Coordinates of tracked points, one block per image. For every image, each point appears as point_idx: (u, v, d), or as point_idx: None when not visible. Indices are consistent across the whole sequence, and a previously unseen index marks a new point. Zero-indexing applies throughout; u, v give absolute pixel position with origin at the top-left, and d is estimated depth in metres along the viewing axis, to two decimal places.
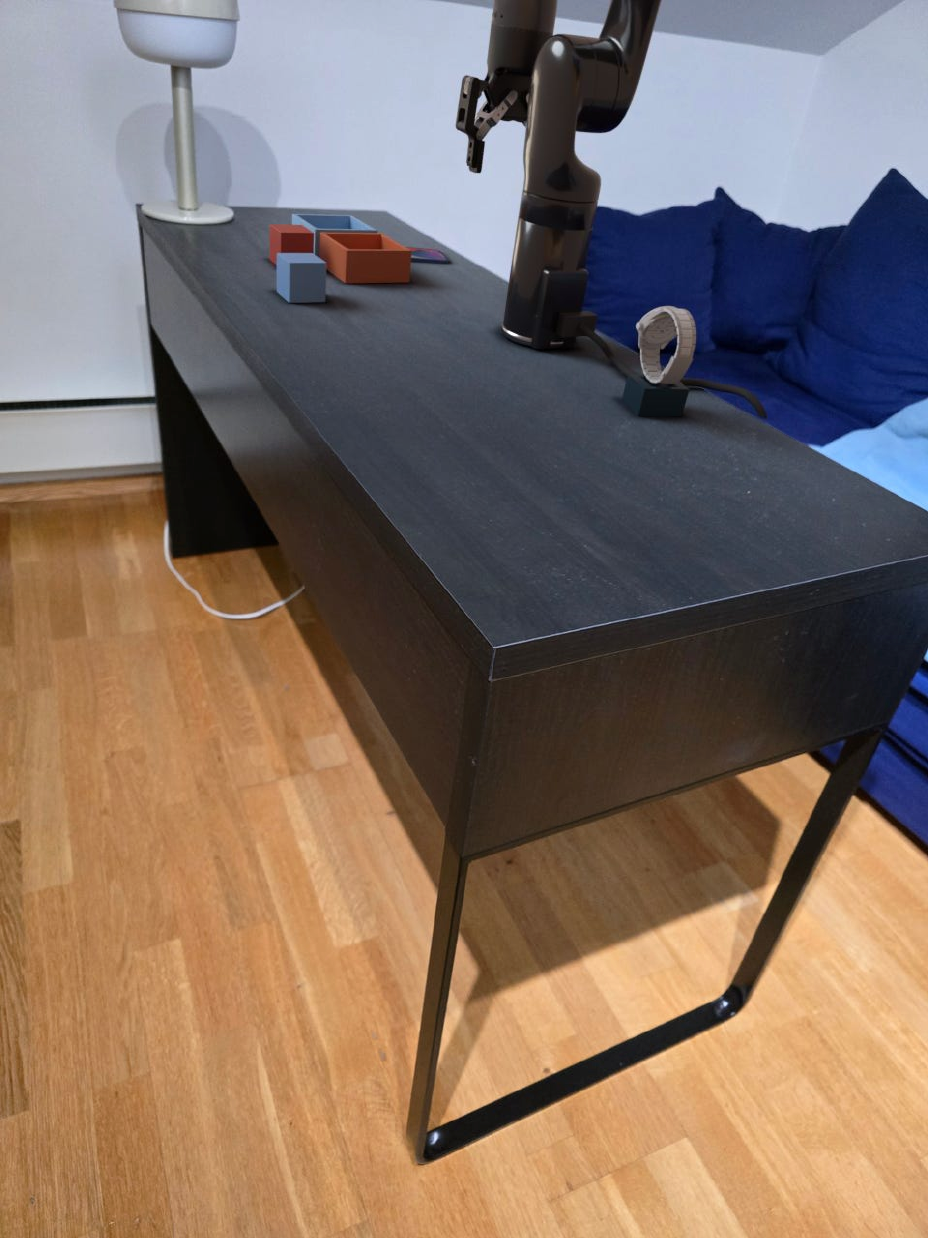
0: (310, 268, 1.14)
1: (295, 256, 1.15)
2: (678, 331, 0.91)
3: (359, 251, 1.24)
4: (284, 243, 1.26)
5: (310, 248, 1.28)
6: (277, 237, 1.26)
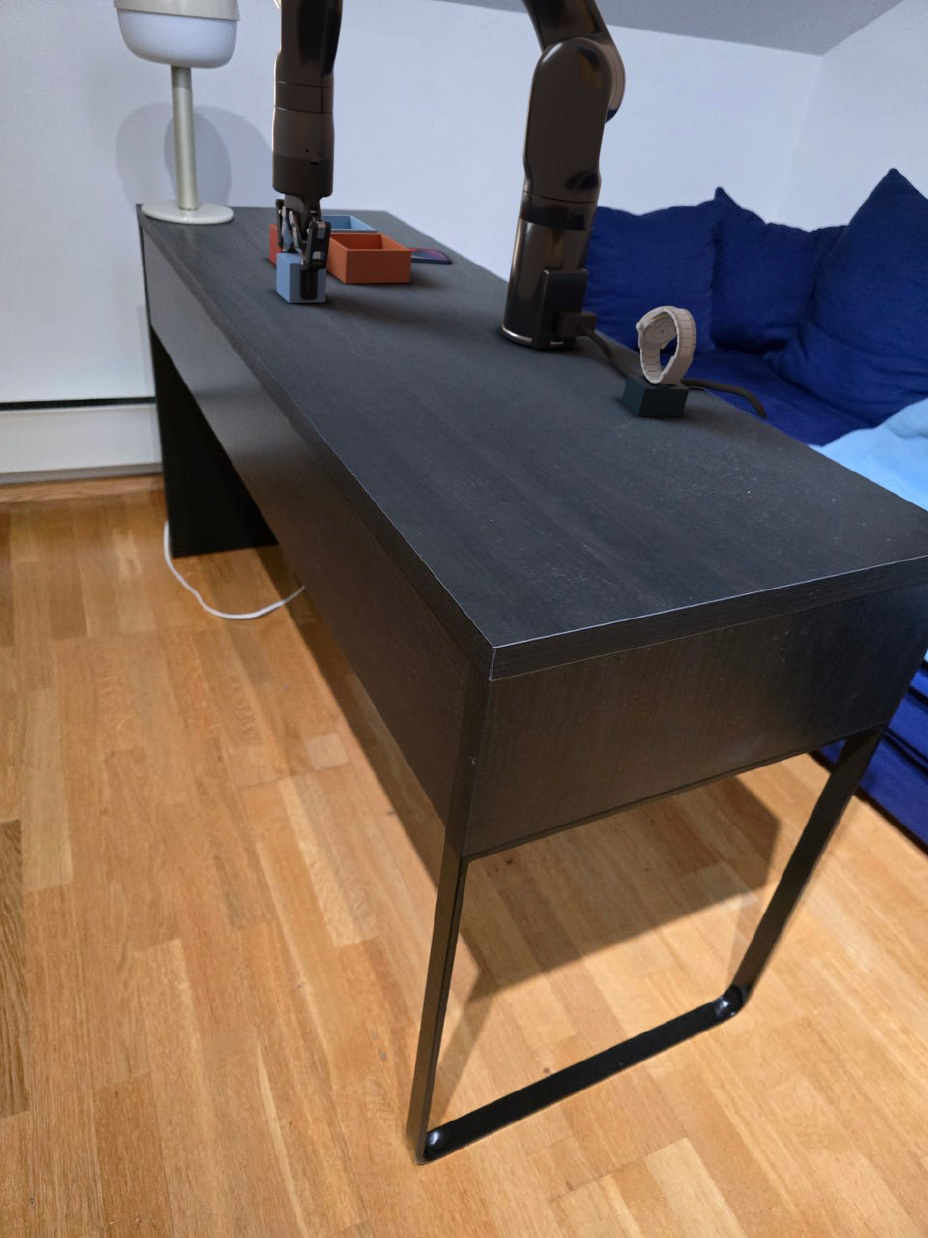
0: None
1: (295, 256, 1.15)
2: (678, 331, 0.91)
3: (359, 251, 1.24)
4: None
5: None
6: (277, 237, 1.26)
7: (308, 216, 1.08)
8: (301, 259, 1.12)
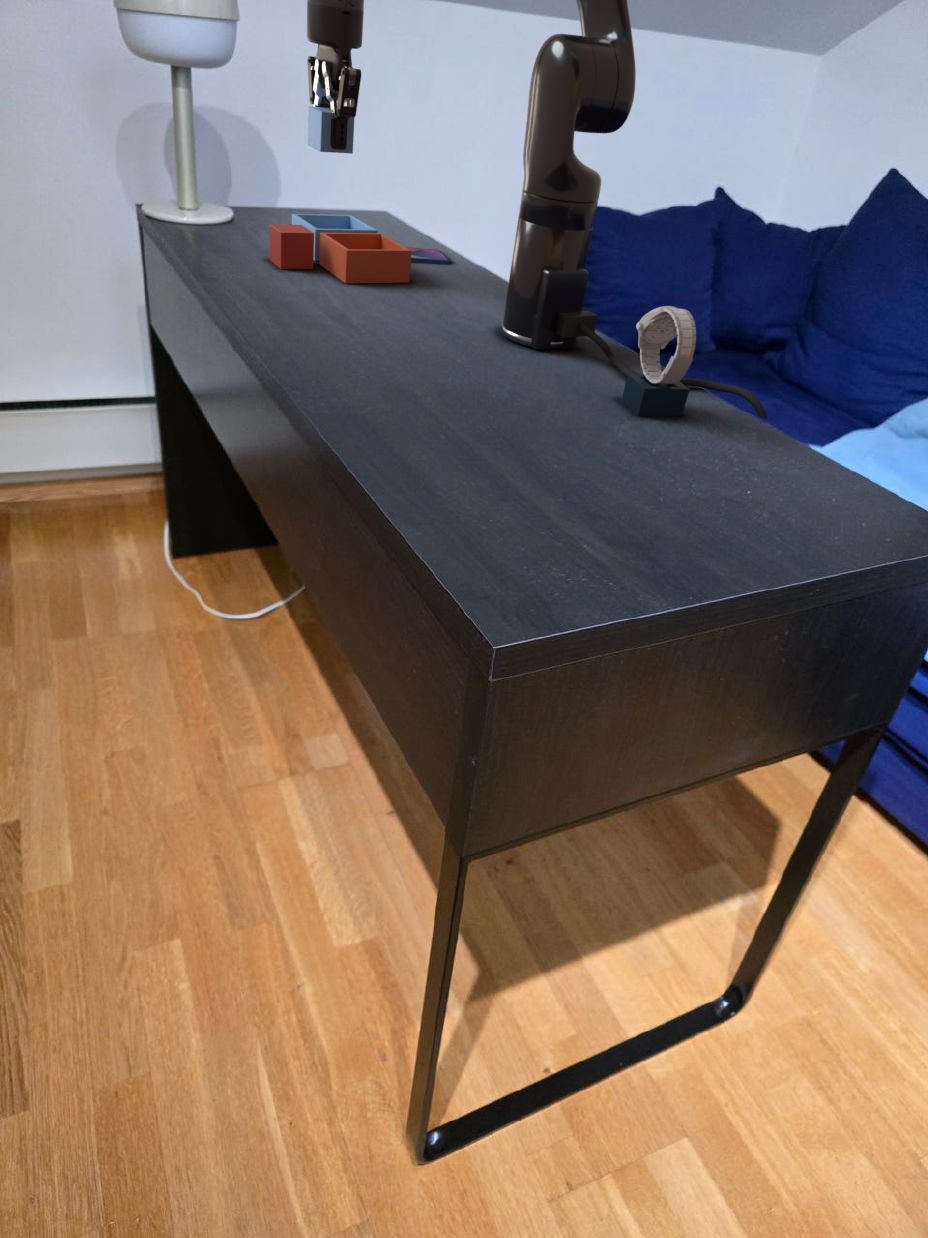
0: None
1: (325, 109, 1.25)
2: (678, 331, 0.91)
3: (359, 251, 1.24)
4: (284, 243, 1.26)
5: (310, 248, 1.28)
6: (277, 237, 1.26)
7: (340, 64, 1.19)
8: (332, 108, 1.22)
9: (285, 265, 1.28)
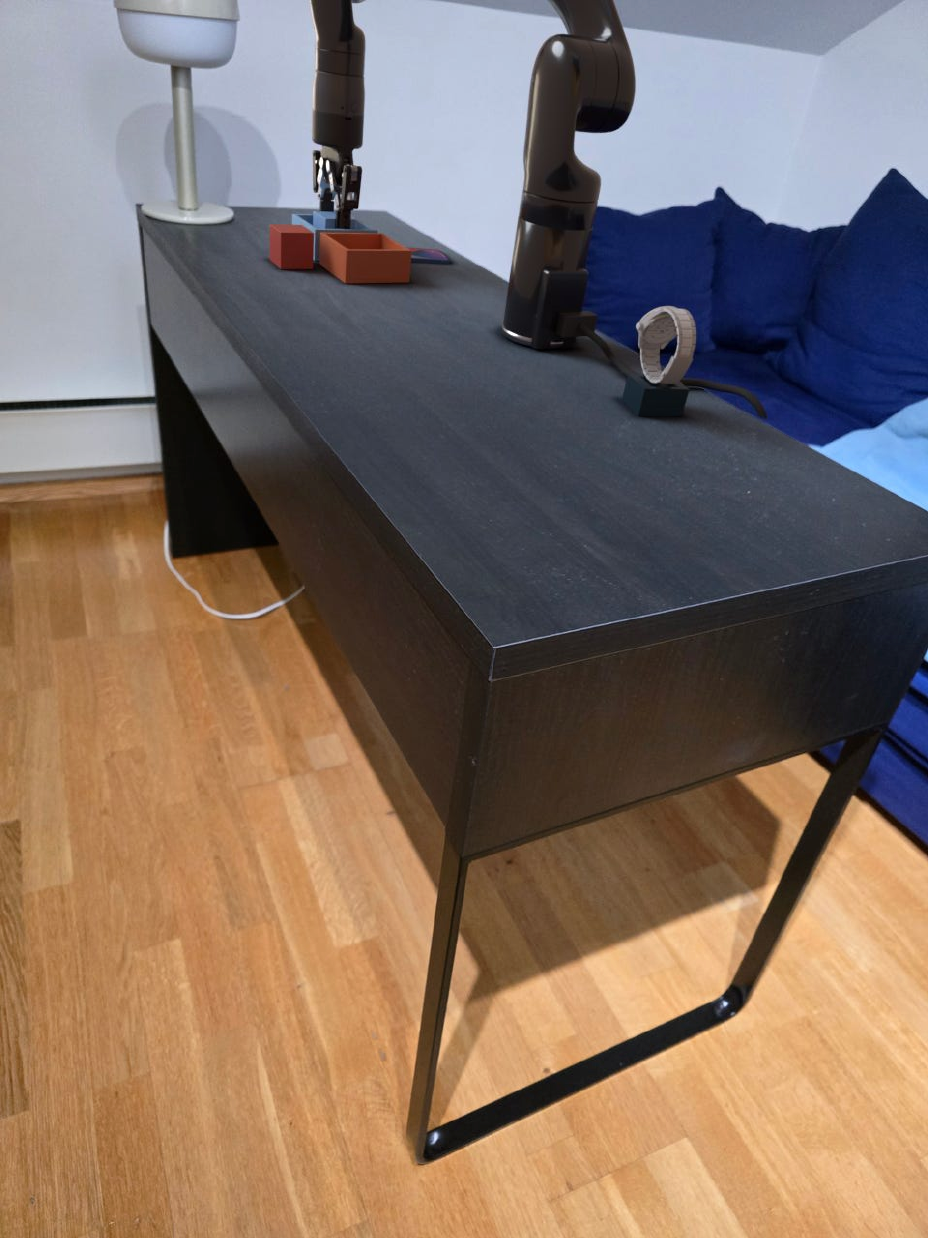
0: None
1: (329, 213, 1.37)
2: (678, 331, 0.91)
3: (359, 251, 1.24)
4: (284, 243, 1.26)
5: (310, 248, 1.28)
6: (277, 237, 1.26)
7: (342, 163, 1.29)
8: (336, 201, 1.32)
9: (285, 265, 1.28)
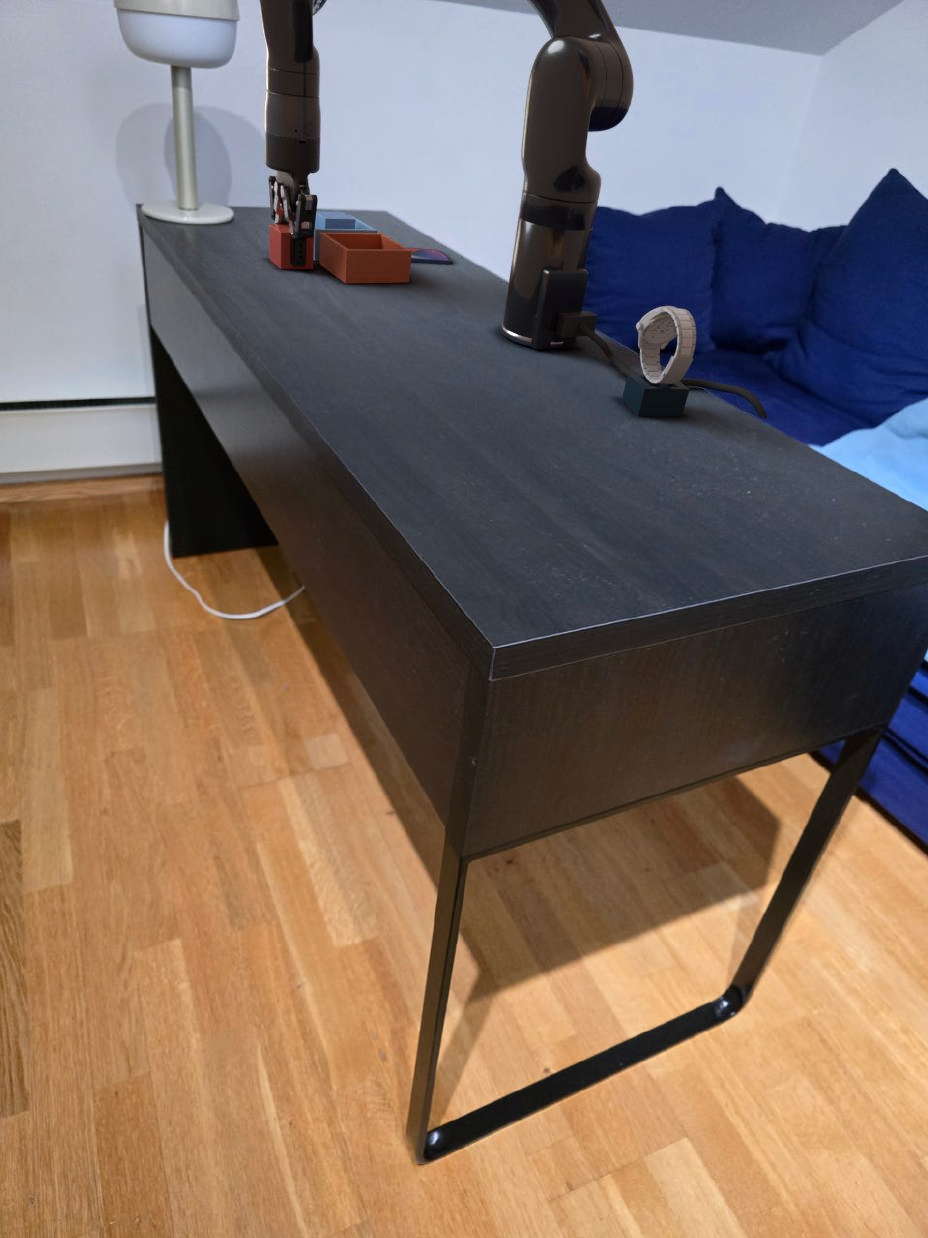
0: (342, 223, 1.36)
1: (329, 213, 1.37)
2: (678, 331, 0.91)
3: (359, 251, 1.24)
4: (284, 243, 1.26)
5: (310, 248, 1.28)
6: (277, 237, 1.26)
7: (297, 190, 1.21)
8: (291, 229, 1.25)
9: (285, 265, 1.28)
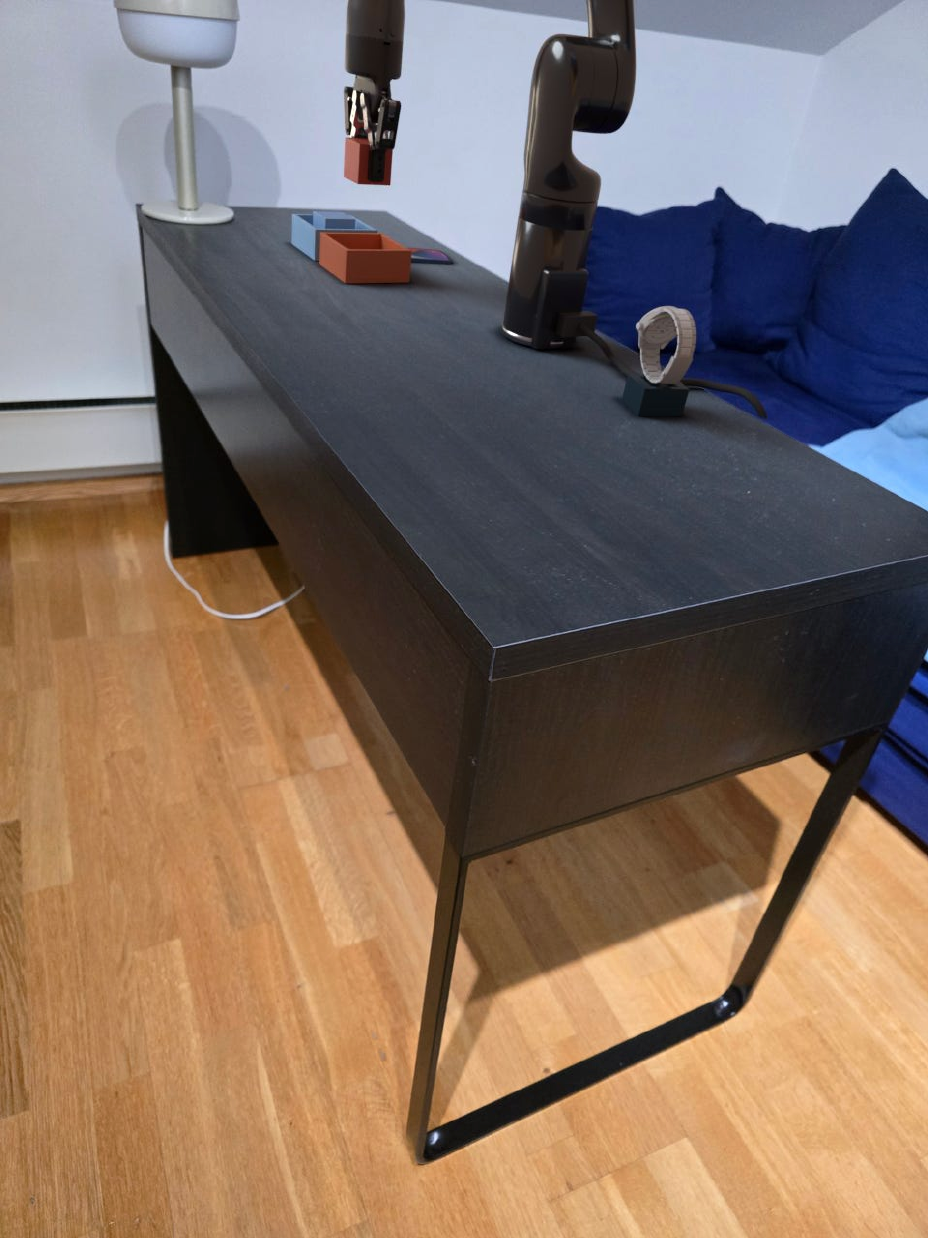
0: (342, 223, 1.36)
1: (329, 213, 1.37)
2: (678, 331, 0.91)
3: (359, 251, 1.24)
4: (362, 156, 1.20)
5: (388, 162, 1.22)
6: (355, 149, 1.20)
7: (379, 96, 1.15)
8: (370, 140, 1.19)
9: (362, 180, 1.22)
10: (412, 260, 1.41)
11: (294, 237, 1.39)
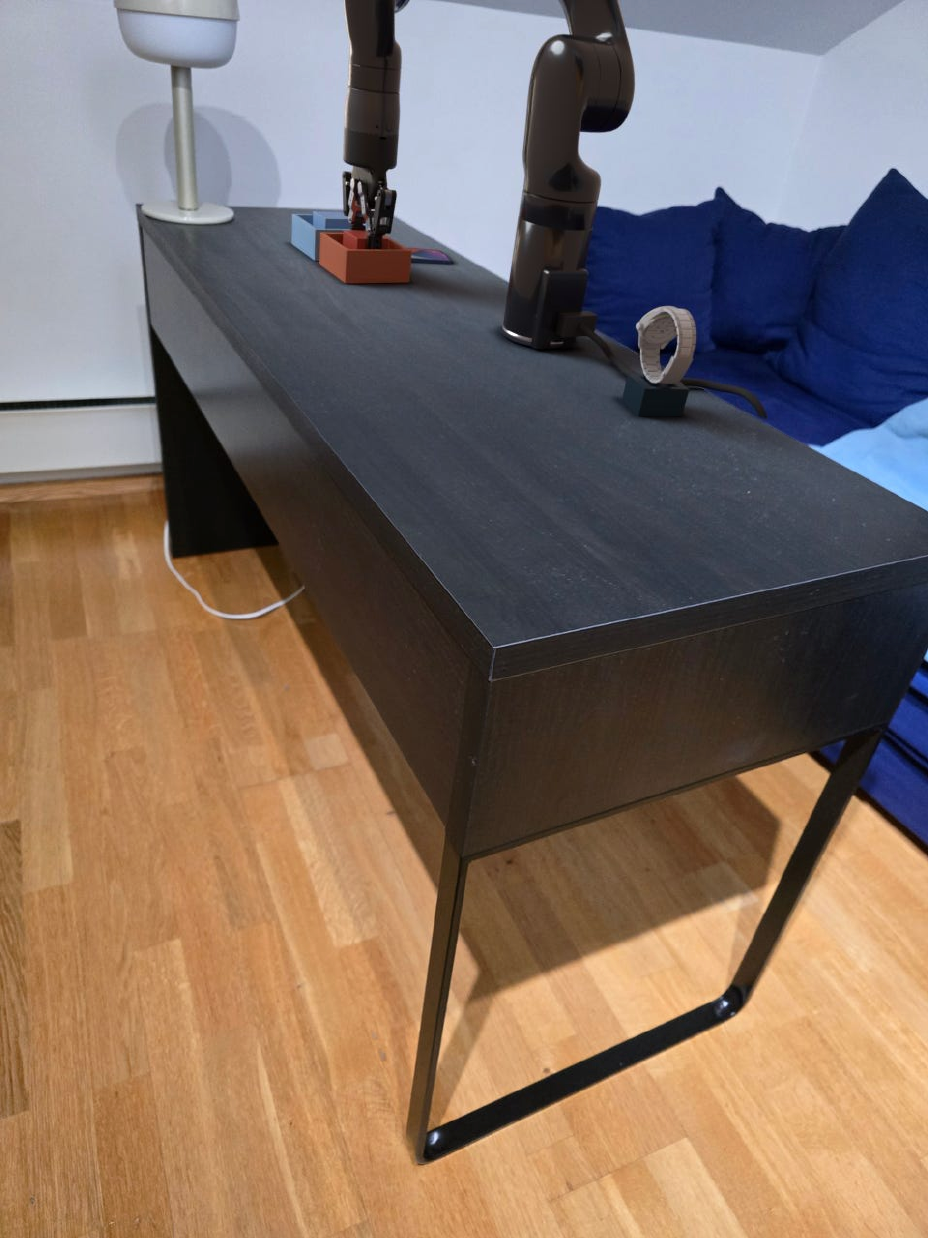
0: (342, 223, 1.36)
1: (329, 213, 1.37)
2: (678, 331, 0.91)
3: (359, 251, 1.24)
4: None
5: None
6: (353, 243, 1.27)
7: (376, 185, 1.21)
8: (368, 225, 1.25)
9: None
10: (413, 260, 1.41)
11: (294, 237, 1.39)
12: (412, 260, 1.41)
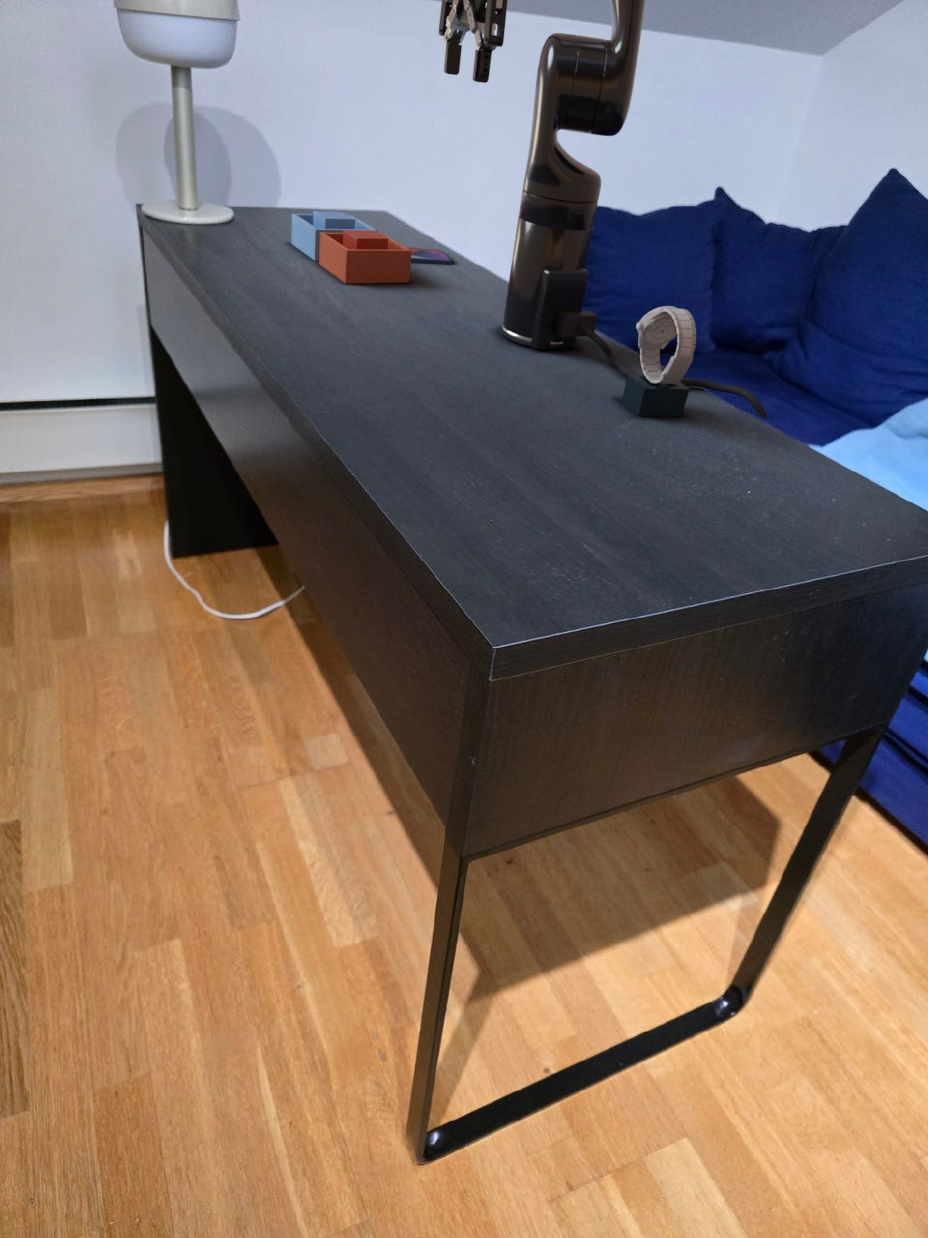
0: (342, 223, 1.36)
1: (329, 213, 1.37)
2: (678, 331, 0.91)
3: (359, 251, 1.24)
4: None
5: None
6: (353, 243, 1.27)
7: None
8: (477, 38, 1.19)
9: None
10: (413, 260, 1.41)
11: (294, 237, 1.39)
12: (413, 260, 1.41)
